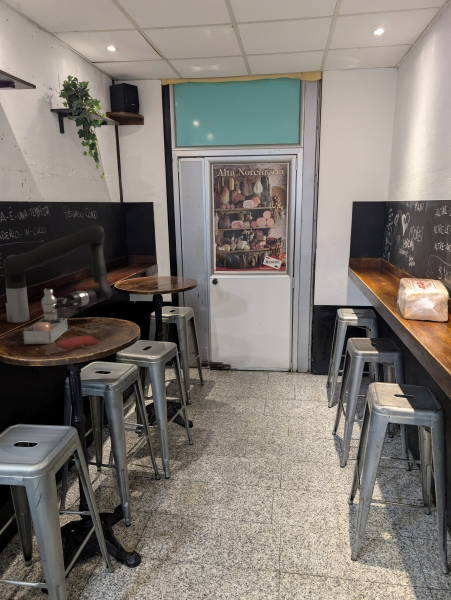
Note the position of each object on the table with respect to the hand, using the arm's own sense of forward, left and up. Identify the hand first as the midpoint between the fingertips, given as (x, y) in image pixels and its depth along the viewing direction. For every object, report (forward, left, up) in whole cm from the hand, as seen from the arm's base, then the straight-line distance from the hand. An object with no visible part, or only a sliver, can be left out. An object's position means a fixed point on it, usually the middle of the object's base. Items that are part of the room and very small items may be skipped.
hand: (48, 306), depth 189 cm
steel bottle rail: (0, -5, -13) cm, 14 cm away
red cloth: (+16, -14, -14) cm, 25 cm away
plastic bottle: (0, 0, -13) cm, 13 cm away
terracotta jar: (0, -10, -13) cm, 16 cm away
